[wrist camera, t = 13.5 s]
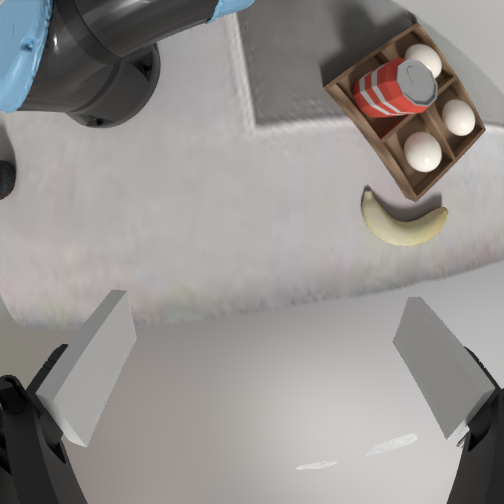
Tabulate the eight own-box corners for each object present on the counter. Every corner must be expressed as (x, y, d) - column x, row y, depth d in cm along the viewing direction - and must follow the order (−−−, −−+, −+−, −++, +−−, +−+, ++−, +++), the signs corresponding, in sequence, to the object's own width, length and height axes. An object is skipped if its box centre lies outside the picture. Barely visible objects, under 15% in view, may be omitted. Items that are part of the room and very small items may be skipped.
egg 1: (391, 58, 28) (409, 48, 23) (411, 43, 27) (431, 34, 22) (414, 88, 30) (435, 84, 25) (433, 73, 28) (454, 67, 23)
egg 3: (429, 111, 31) (451, 109, 26) (447, 94, 29) (469, 91, 24) (447, 141, 32) (469, 143, 27) (464, 124, 31) (486, 125, 26)
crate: (323, 87, 31) (329, 82, 28) (408, 28, 26) (417, 22, 23) (405, 197, 36) (416, 202, 34) (474, 129, 32) (485, 129, 29)
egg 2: (390, 145, 33) (410, 147, 28) (414, 124, 32) (435, 123, 27) (410, 177, 35) (431, 183, 30) (432, 155, 33) (455, 159, 28)
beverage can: (379, 71, 29) (425, 50, 18) (397, 111, 31) (449, 105, 20) (343, 81, 30) (382, 58, 19) (363, 124, 32) (409, 119, 21)
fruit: (431, 246, 40) (441, 253, 37) (354, 236, 39) (362, 244, 36) (441, 205, 37) (452, 210, 34) (362, 188, 36) (372, 192, 33)
